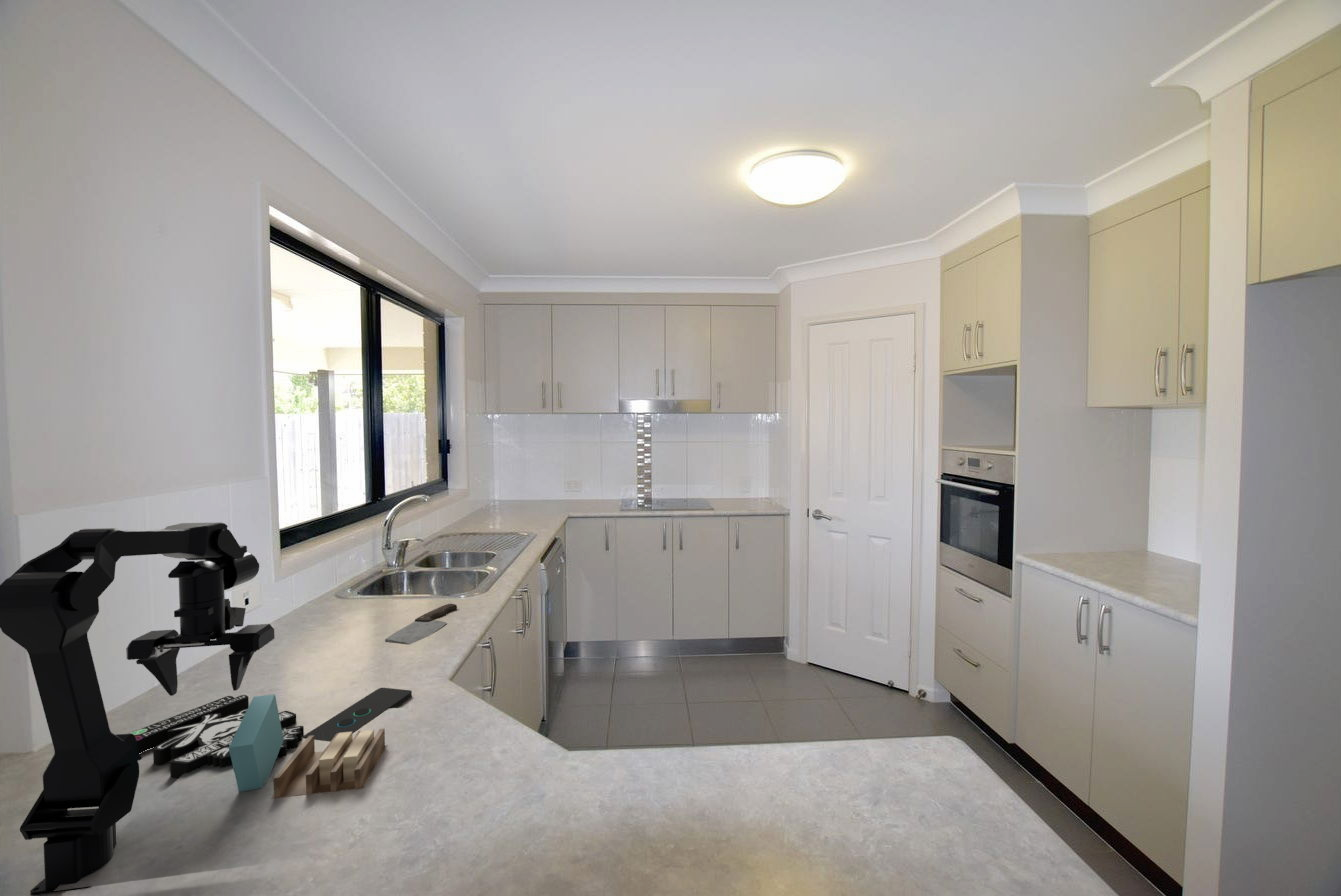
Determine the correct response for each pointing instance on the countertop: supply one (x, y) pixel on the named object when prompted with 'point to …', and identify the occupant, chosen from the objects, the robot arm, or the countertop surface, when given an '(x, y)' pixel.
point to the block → (256, 743)
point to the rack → (305, 776)
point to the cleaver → (421, 626)
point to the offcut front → (356, 754)
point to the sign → (206, 735)
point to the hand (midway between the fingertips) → (205, 692)
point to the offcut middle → (333, 756)
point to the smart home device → (360, 713)
